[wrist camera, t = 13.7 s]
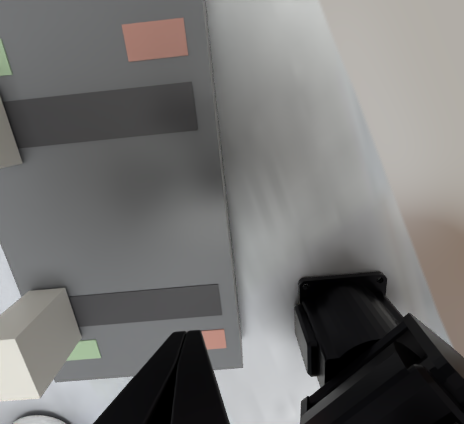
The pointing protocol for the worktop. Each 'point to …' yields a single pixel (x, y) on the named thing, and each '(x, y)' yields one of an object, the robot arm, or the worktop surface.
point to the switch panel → (118, 177)
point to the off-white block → (35, 342)
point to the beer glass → (38, 420)
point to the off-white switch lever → (7, 142)
